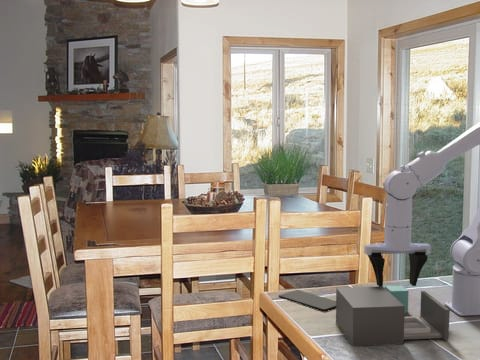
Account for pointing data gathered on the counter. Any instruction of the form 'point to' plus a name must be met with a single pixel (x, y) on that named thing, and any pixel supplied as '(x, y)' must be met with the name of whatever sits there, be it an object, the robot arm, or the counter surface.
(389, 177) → the robot arm
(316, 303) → the smartphone
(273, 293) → the counter surface
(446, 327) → the tray
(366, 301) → the dark grey cuboid box
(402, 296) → the block
